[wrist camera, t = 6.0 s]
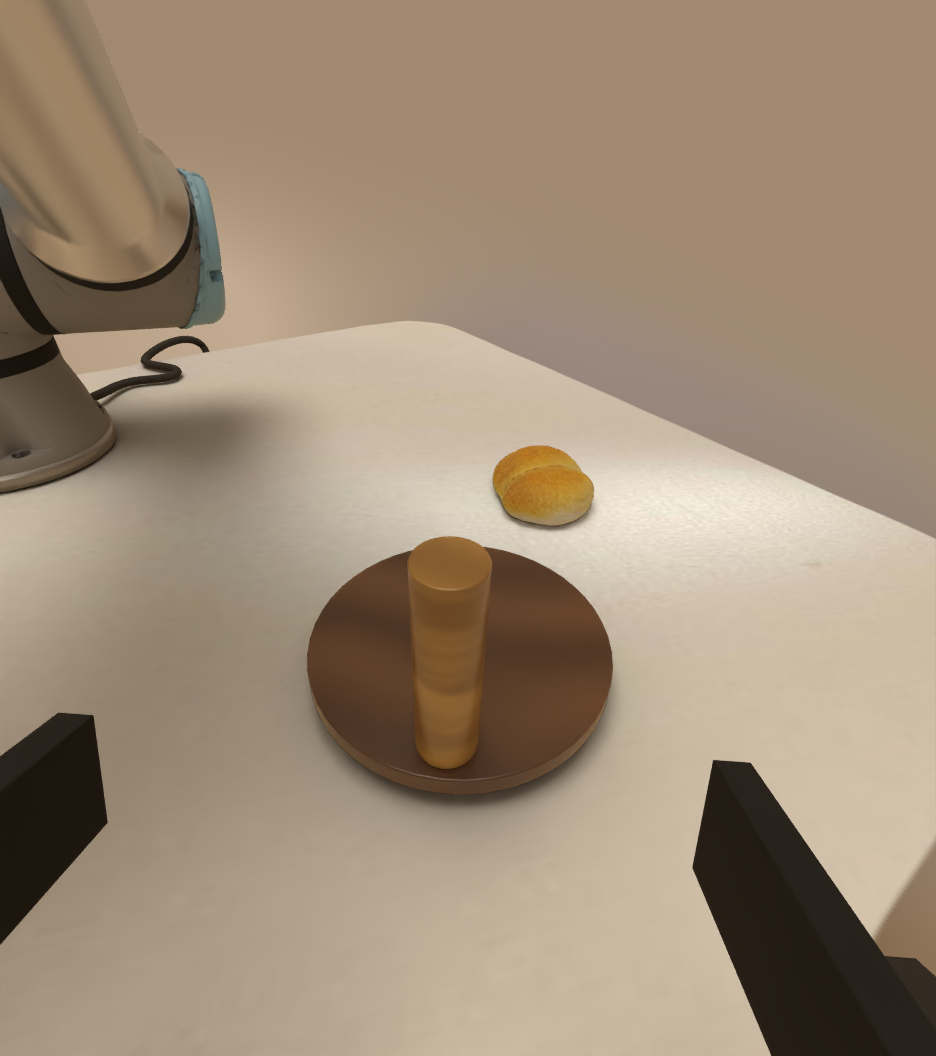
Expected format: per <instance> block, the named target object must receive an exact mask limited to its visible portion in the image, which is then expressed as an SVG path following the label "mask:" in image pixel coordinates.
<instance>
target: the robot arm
mask: <svg viewBox="0 0 936 1056" xmlns="http://www.w3.org/2000/svg"><path fill="white" fill-rule="evenodd" d="M221 269H222V267H221V257H220V249H219V242H218V236H217V230H216V224H215V219H214V213H213V208H212V203H211V198H210V194H209V190H208V187H207V186H206V183H205V181H204V179H203V178H202V177H201V176H200V175H199V174H197V173H194V172H188V171H185V170H184V169H181V168H175V166H174V165H173V163H172V162H171V160H170V159H169V158H168V157H167V156H166V155H165V154H164V152H163V151H162V150H160V149H159V148H158V147H157V146H156V145H155V144H154V143H153V142H152V141H150V140H149V139H148V138H146V137H145V136H144V135H142V134H141V133H139V131H138V128H137V126H136V123H135V121H134V118H133V116H132V114H131V111H130V109H129V106H128V104H127V101H126V99H125V96H124V94H123V91H122V89H121V86H120V84H119V81H118V79H117V76H116V74H115V71H114V69H113V67H112V64H111V62H110V59H109V57H108V54H107V52H106V49H105V47H104V44H103V42H102V39H101V37H100V34H99V32H98V30H97V27H96V24H95V22H94V20H93V17H92V15H91V12H90V10H89V7H88V5H87V2H86V0H0V492H5V491H11V490H16V489H21V488H26V487H30V486H34V485H38V484H41V483H45V482H48V481H51V480H54V479H57V478H60V477H63V476H65V475H68V474H70V473H72V472H75V471H77V470H79V469H81V468H83V467H85V466H87V465H89V464H90V463H92V462H94V461H95V460H97V459H98V458H100V457H101V456H102V455H103V454H105V453H106V452H107V451H108V450H109V449H110V448H111V446H112V445H113V444H114V442H115V439H116V431H115V428H114V426H113V423H112V421H111V418H110V416H109V415H108V413H107V411H106V410H105V408H104V407H103V406H102V405H101V404H100V403H99V402H98V401H97V400H99V399H101V398H104V397H106V396H108V395H110V394H112V393H114V392H116V391H118V390H120V389H123V388H125V387H129V386H133V385H139V384H148V383H159V382H166V381H171V380H174V379H176V378H178V377H180V375H181V373H182V371H181V369H180V368H179V367H178V366H176V365H172V364H168V363H161V362H155V361H151V360H150V359H151V358H152V357H154V356H155V355H156V354H158V353H159V352H160V351H162V350H164V349H166V348H168V347H170V346H173V345H176V344H180V343H192V344H195V345H197V346H199V347H200V349H201V350H202V352H203V353H206V352H210V351H209V349H208V347H207V346H206V345H205V343H203V342H202V341H201V340H199V339H198V338H195V337H192V336H179V337H174V338H171V339H168V340H165V341H163V342H161V343H159V344H157V345H155V346H154V347H152V348H151V349H149V350H148V351H147V352H146V353H145V354H144V355H143V356H142V357H141V363H142V364H143V365H144V366H146V367H148V368H152V369H158V370H164V371H169V372H170V373H166V374H160V375H150V376H139V377H132V378H127V379H124V380H120V381H117V382H114V383H112V384H110V385H108V386H106V387H104V388H102V389H99V390H97V391H95V392H92V393H90V394H89V392H88V390H87V389H86V387H85V386H84V385H83V383H82V382H81V381H80V379H79V378H78V377H77V375H76V374H75V373H74V372H73V371H72V369H71V368H70V367H69V366H68V364H67V363H66V362H65V360H64V359H63V357H62V355H61V353H60V350H59V348H58V346H57V343H56V341H55V339H54V336H53V335H56V334H70V333H85V332H104V331H120V330H136V329H153V328H170V327H179V328H180V329H188V328H191V327H192V326H194V325H204V324H212V323H215V322H217V321H219V320H220V319H221V318H222V316H223V314H224V311H225V290H224V281H223V275H222V272H221ZM107 823H108V821H107V813H106V806H105V798H104V791H103V783H102V776H101V768H100V761H99V753H98V746H97V739H96V731H95V724H94V716H93V715H83V714H69V713H57V714H56V715H55V716H53V717H52V718H51V719H49V720H48V721H47V722H45V723H44V724H43V725H41V726H40V727H39V728H37V729H36V730H35V731H33V732H32V733H31V734H29V735H28V736H27V737H25V738H24V739H23V740H21V741H20V742H19V743H17V744H16V745H15V746H13V747H12V748H11V749H9V750H8V751H7V752H5V753H4V754H3V755H1V756H0V944H1V943H2V942H3V941H4V940H5V939H6V938H7V936H8V935H9V934H10V933H11V932H12V931H13V930H14V929H15V927H16V926H17V925H18V924H19V923H20V922H21V921H22V919H23V918H24V917H25V916H26V915H27V914H28V913H29V911H30V910H31V909H32V908H33V907H34V906H35V905H36V904H37V902H38V901H39V900H40V899H41V898H42V897H43V896H44V894H45V893H46V892H47V891H48V890H49V889H50V888H51V886H52V885H53V884H54V883H55V882H56V881H57V880H58V879H59V877H60V876H61V875H62V874H63V873H64V872H65V871H66V869H67V868H68V867H69V866H70V865H71V864H72V863H73V861H74V860H75V859H76V858H77V857H78V856H79V855H80V854H81V852H82V851H83V850H84V849H85V848H86V847H87V846H88V844H89V843H90V842H91V841H92V840H93V839H94V838H95V836H96V835H97V834H98V833H99V832H100V831H101V830H102V828H103V827H104V826H105V825H106V824H107ZM692 868H693V870H694V873H695V875H696V877H697V880H698V882H699V885H700V887H701V889H702V892H703V894H704V896H705V899H706V901H707V904H708V906H709V908H710V911H711V913H712V915H713V918H714V920H715V923H716V925H717V927H718V930H719V932H720V935H721V937H722V939H723V942H724V944H725V946H726V949H727V951H728V954H729V956H730V958H731V961H732V963H733V965H734V968H735V970H736V973H737V975H738V977H739V980H740V982H741V985H742V987H743V989H744V992H745V994H746V996H747V999H748V1001H749V1004H750V1006H751V1008H752V1011H753V1013H754V1015H755V1018H756V1020H757V1023H758V1025H759V1027H760V1030H761V1032H762V1035H763V1037H764V1039H765V1042H766V1044H767V1046H768V1049H769V1051H770V1054H771V1056H936V977H935V976H934V975H933V974H932V973H931V972H930V971H929V970H928V969H927V968H925V967H924V966H923V965H922V964H921V963H920V962H919V961H918V960H917V959H913V958H901V957H888V956H884V955H883V953H882V952H881V950H880V949H879V948H878V946H877V945H876V943H875V942H874V940H873V939H872V937H871V936H870V935H869V933H868V932H867V930H866V929H865V927H864V926H863V924H862V923H861V922H860V920H859V919H858V917H857V916H856V914H855V913H854V911H853V910H852V909H851V907H850V906H849V904H848V903H847V901H846V900H845V898H844V897H843V896H842V894H841V893H840V891H839V890H838V888H837V887H836V885H835V884H834V883H833V881H832V880H831V878H830V877H829V875H828V874H827V872H826V871H825V870H824V868H823V867H822V865H821V864H820V862H819V861H818V859H817V858H816V857H815V855H814V854H813V852H812V851H811V849H810V848H809V846H808V845H807V844H806V842H805V841H804V839H803V838H802V836H801V835H800V833H799V832H798V831H797V829H796V828H795V826H794V825H793V823H792V822H791V820H790V819H789V818H788V816H787V815H786V813H785V812H784V810H783V809H782V807H781V806H780V805H779V803H778V802H777V800H776V799H775V797H774V796H773V794H772V793H771V792H770V790H769V789H768V787H767V786H766V784H765V783H764V781H763V780H762V779H761V777H760V776H759V774H758V773H757V771H756V770H755V768H754V767H753V766H752V764H751V763H747V762H733V761H720V760H713V764H712V769H711V774H710V780H709V785H708V790H707V795H706V800H705V805H704V811H703V816H702V821H701V826H700V831H699V836H698V842H697V847H696V852H695V857H694V862H693V867H692Z"/></svg>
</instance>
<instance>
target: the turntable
mask: <svg viewBox="0 0 936 1056" xmlns="http://www.w3.org/2000/svg"><path fill="white" fill-rule="evenodd" d="M307 671H308V677H309V682H310V688H311V692H312V697H313V700H314V703H315V706H316V709H317V711H318V714H319V716H320V718H321V720H322V721H323V723H324V725H325V727H326V728H327V730H328V732H329V733H330V734H331V735H332V737H333V738H334V739H335V740H336V741H337V743H338V744H339V745H340V746H341V747H342V748H343V749H344V750H345V751H346V752H347V753H348V754H350V755H351V756H352V757H353V758H354V759H355V760H356V761H358V762H359V763H361V764H362V765H364V766H365V767H367V768H369V769H370V770H372V771H373V772H375V773H377V774H379V775H381V776H383V777H385V778H387V779H389V780H392V781H394V782H396V783H399V784H403V785H406V786H409V787H412V788H415V789H419V790H425V791H430V792H436V793H443V794H477V793H489V792H494V791H498V790H503V789H508V788H512V787H515V786H518V785H521V784H523V783H526V782H529V781H531V780H534V779H536V778H538V777H540V776H542V775H544V774H545V773H547V772H549V771H551V770H553V769H555V768H556V767H557V766H559V765H560V764H561V763H563V762H564V761H565V760H567V759H568V758H569V757H571V756H572V755H573V754H574V753H575V752H576V751H577V750H578V749H579V748H580V747H581V746H582V745H583V744H584V743H585V741H586V740H587V738H588V737H589V736H590V734H591V733H592V731H593V730H594V729H595V727H596V725H597V723H598V721H599V719H600V717H601V715H602V713H603V710H604V707H605V703H606V700H607V696H608V693H609V689H610V686H611V680H612V671H613V663H612V651H611V647H610V643H609V638H608V635H607V633H606V630H605V628H604V626H603V623H602V621H601V619H600V618H599V616H598V614H597V613H596V611H595V609H594V608H593V607H592V605H591V604H590V603H589V602H588V600H587V599H586V598H585V597H584V596H583V595H582V594H581V593H580V592H579V591H578V590H577V589H576V588H575V587H574V586H573V585H572V584H570V583H569V582H568V581H567V580H565V579H564V578H563V577H562V576H560V575H558V574H557V573H555V572H554V571H552V570H551V569H549V568H547V567H545V566H543V565H541V564H539V563H537V562H535V561H533V560H530V559H528V558H525V557H523V556H520V555H517V554H513V553H510V552H507V551H503V550H498V549H493V548H488V547H482V546H481V545H479V544H478V543H476V542H474V541H471V540H469V539H465V538H461V537H450V536H449V537H438V538H434V539H430V540H428V541H425V542H423V543H421V544H420V545H418V546H417V547H416V548H415V549H414V550H412V551H408V552H405V553H401V554H398V555H395V556H392V557H390V558H387V559H385V560H382V561H380V562H378V563H376V564H374V565H372V566H370V567H369V568H367V569H365V570H364V571H362V572H361V573H359V574H357V575H356V576H354V577H353V578H352V579H351V580H349V581H348V582H347V583H346V584H345V585H343V586H342V587H341V588H340V589H339V590H338V591H337V592H336V593H335V595H334V596H333V597H332V598H331V599H330V600H329V602H328V603H327V605H326V606H325V607H324V609H323V610H322V612H321V614H320V616H319V618H318V619H317V621H316V623H315V626H314V629H313V631H312V634H311V637H310V641H309V647H308V653H307Z"/></svg>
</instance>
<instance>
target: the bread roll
mask: <svg viewBox="0 0 936 1056" xmlns="http://www.w3.org/2000/svg"><path fill="white" fill-rule="evenodd" d="M493 485H494V488H495V490H496V492H497V494H498V495H499V497H500V498H501V500H502V504H503V506H504V508H505V509H506V511H507V512H508V513H509V514H510V515H511V516H513V517H514V518H518V519H520V520H522V521H527V522H531V523H536V524H542V525H549V526H553V525H563V524H566V523H569V522H572V521H575V520H577V519H578V518H580V517H581V516H582V515H583V514H585V513H586V512H587V511H588V509H589V508H590V506H591V503H592V500H593V497H594V486H593V483H592V481H591V480H590V478H589V477H588V476H587V475H585V474H584V473H582V471H581V469H580V468H579V466H578V465H577V463H576V462H575V461H574V460H573V459H572V458H571V457H570V456H569V455H567V454H566V453H564V452H563V451H561V450H559V449H555V448H552V447H549V446H529V447H525V448H521V449H519V450H517V451H515V452H513V453H511V454H509V455H507V456H506V457H504V458H503V459H502V460H501V461H500V462H499V463H498V465H497V466H496V468H495V470H494V474H493Z"/></svg>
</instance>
